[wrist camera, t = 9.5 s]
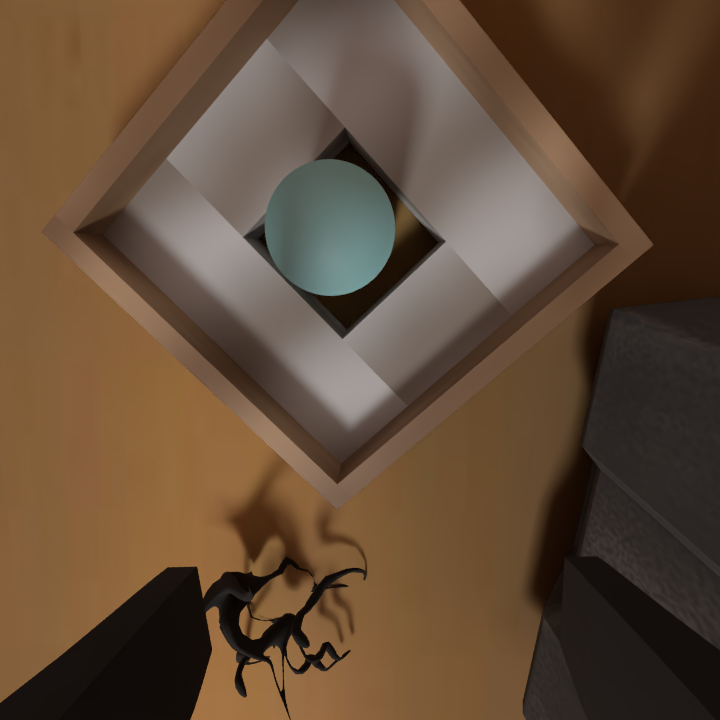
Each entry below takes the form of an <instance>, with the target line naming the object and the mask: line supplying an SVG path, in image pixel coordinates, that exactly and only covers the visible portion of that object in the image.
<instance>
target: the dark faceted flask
mask: <svg viewBox="0 0 720 720" xmlns="http://www.w3.org/2000/svg"><path fill="white" fill-rule="evenodd" d="M580 444H581V445H582V447H583V448H584V449H585V450H586V452H587V453H588V454H589V455H590V457H591V458H592V459H593V465H592V469H591V473H590V477H589V482H588V486H587V490H586V495H585V499H584V503H583V507H582V512H581V516H580V520H579V525H578V529H577V533H576V538H575V542H574V546H573V548H572V550H571V552H570V554H569V556H568V557H585V556H598V557H599V558H601V559H602V560H603V561H605V562H606V563H608V564H609V565H610V566H611V567H613V568H614V569H615V570H617V571H618V572H619V573H620V574H622V575H623V576H624V577H626V578H627V579H628V580H629V581H631V582H632V583H633V584H635V585H636V586H637V587H638V588H640V589H641V590H642V591H643V592H645V593H646V594H647V595H649V596H650V597H651V598H652V599H654V600H655V601H656V602H657V603H659V604H660V605H661V606H663V607H664V608H665V609H666V610H668V611H669V612H670V613H672V614H673V615H674V616H675V617H677V618H678V619H679V620H681V621H682V622H683V623H685V624H686V625H687V626H688V627H690V628H691V629H692V630H694V631H695V632H696V633H698V634H699V635H700V636H702V637H703V638H704V639H706V640H707V641H708V642H710V643H711V644H712V645H714V646H715V647H716V648H718V649H719V650H720V297H711V298H702V299H693V300H684V301H675V302H666V303H657V304H648V305H639V306H630V307H621V308H613V309H611V310H610V311H609V316H608V320H607V325H606V329H605V334H604V338H603V343H602V347H601V352H600V356H599V361H598V365H597V370H596V374H595V379H594V383H593V388H592V392H591V397H590V401H589V406H588V410H587V415H586V419H585V424H584V428H583V433H582V437H581V442H580ZM563 578H564V567H563V569H562V571H561V573H560V575H559V577H558V579H557V581H556V583H555V585H554V587H553V590H552V592H551V594H550V596H549V598H548V600H547V602H546V604H545V606H544V608H543V613H542V617H541V622H540V626H539V631H538V635H537V640H536V644H535V649H534V653H533V658H532V662H531V667H530V671H529V675H528V680H527V684H526V689H525V693H524V698H523V714H524V716H525V719H526V720H588V719H587V717H586V714H585V712H584V710H583V708H582V706H581V703H580V700H579V697H578V695H577V692H576V689H575V686H574V684H573V681H572V678H571V675H570V672H569V670H568V667H567V664H566V661H565V658H564V655H563V652H562V649H561V646H560V633H561V615H562V596H563Z"/></svg>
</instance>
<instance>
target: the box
mask: <svg viewBox="0 0 720 720" xmlns="http://www.w3.org/2000/svg"><path fill="white" fill-rule="evenodd" d="M348 143H350V144H351V145H352V146H353V147H354V148H355V149H356V151H357V152H358V153H359V154H360V155H361V156H362V157H363V158H364V160H365V161H366V162H367V163H368V164H369V165H370V166H371V167H372V169H373V170H374V171H375V172H376V173H377V174H378V175H379V176H380V177H381V179H382V180H383V181H384V182H385V183H386V184H387V185H388V186H389V188H390V189H391V190H392V191H393V192H394V193H395V194H396V195H397V197H398V198H399V199H400V200H401V201H402V202H403V203H404V204H405V206H406V207H407V208H408V209H409V210H410V211H411V212H412V213H413V215H414V216H415V217H416V218H417V219H418V220H419V221H420V222H421V224H422V225H423V226H424V227H425V228H426V229H427V230H428V231H429V233H430V234H431V235H432V236H433V237H434V238H435V239H436V240H437V242H438V243H437V244H436V245H435V246H434V247H433V248H432V249H431V250H430V251H429V252H428V253H427V254H426V255H425V256H424V257H423V258H421V259H420V260H419V261H418V262H417V263H416V264H415V265H414V266H413V267H412V268H411V269H410V270H409V271H408V272H407V273H406V274H405V275H404V276H402V277H401V278H400V279H399V280H398V281H397V282H396V283H395V284H394V285H393V286H392V287H391V288H390V289H389V290H388V291H387V292H386V293H385V294H383V295H382V296H381V297H380V298H379V299H378V300H377V301H376V302H375V303H374V304H373V305H372V306H371V307H370V308H369V309H368V310H367V311H365V312H364V313H363V314H362V315H361V316H360V317H359V318H358V319H357V320H356V321H355V322H354V323H353V324H352V325H351V326H350V327H349V328H348V329H346V328H345V327H344V326H343V325H342V324H341V323H340V322H339V321H338V320H337V319H336V318H335V317H334V316H333V315H332V314H331V313H330V312H329V311H328V310H327V309H326V308H325V307H324V305H323V304H322V303H321V302H320V301H319V300H318V299H317V298H316V297H315V296H314V295H313V294H312V293H311V292H308V291H306V290H304V289H302V288H300V287H298V286H296V285H295V284H294V283H292V282H291V281H290V280H289V279H287V278H286V277H285V276H284V275H283V273H282V272H281V271H280V270H279V269H278V267H277V266H276V264H275V263H274V261H273V259H272V257H271V255H270V252H269V249H268V248H267V247H266V246H265V245H264V244H263V243H262V241H261V240H260V239H259V238H260V237H261V236H262V235H263V234H264V233H265V217H266V211H267V207H268V204H269V201H270V199H271V196H272V194H273V193H274V191H275V189H276V187H277V186H278V185H279V184H280V182H281V181H282V180H283V179H284V178H285V177H286V176H287V175H288V174H289V173H291V172H292V171H293V170H295V169H296V168H298V167H300V166H302V165H304V164H306V163H309V162H312V161H317V160H324V159H334V158H335V157H336V156H337V155H338V154H339V153H340V152H341V151H342V150H343V149H344V148H345V146H346V145H347V144H348ZM42 233H43V234H44V235H45V236H46V237H48V238H49V239H50V240H51V241H52V242H53V243H54V244H55V245H56V246H57V247H58V248H59V249H60V250H61V251H62V252H63V253H65V254H66V255H67V256H68V257H69V258H70V259H71V260H72V261H73V262H74V263H75V264H76V265H77V266H78V267H79V268H80V269H82V270H83V271H84V272H85V273H86V274H87V275H88V276H89V277H90V278H91V279H92V280H93V281H94V282H95V283H96V284H97V285H99V286H100V287H101V288H102V289H103V290H104V291H105V292H106V293H107V294H108V295H109V296H110V297H111V298H112V299H113V300H115V301H116V302H117V303H118V304H119V305H120V306H121V307H122V308H123V309H124V310H125V311H126V312H127V313H128V314H129V315H130V316H132V317H133V318H134V319H135V320H136V321H137V322H138V323H139V324H140V325H141V326H142V327H143V328H144V329H145V330H146V331H147V332H149V333H150V334H151V335H152V336H153V337H154V338H155V339H156V340H157V341H158V342H159V343H160V344H161V345H162V346H163V347H165V348H166V349H167V350H168V351H169V352H170V353H171V354H172V355H173V356H174V357H175V358H176V359H177V360H178V361H179V362H180V363H182V364H183V365H184V366H185V367H186V368H187V369H188V370H189V371H190V372H191V373H192V374H193V375H194V376H195V377H196V378H197V379H199V380H200V381H201V382H202V383H203V384H204V385H205V386H206V387H207V388H208V389H209V390H210V391H211V392H212V393H213V394H215V395H216V396H217V397H218V398H219V399H220V400H221V401H222V402H223V403H224V404H225V405H226V406H227V407H228V408H229V409H230V410H232V411H233V412H234V413H235V414H236V415H237V416H238V417H239V418H240V419H241V420H242V421H243V422H244V423H245V424H246V425H247V426H249V427H250V428H251V429H252V430H253V431H254V432H255V433H256V434H257V435H258V436H259V437H260V438H261V439H262V440H263V441H264V442H266V443H267V444H268V445H269V446H270V447H271V448H272V449H273V450H274V451H275V452H276V453H277V454H278V455H279V456H280V457H282V458H283V459H284V460H285V461H286V462H287V463H288V464H289V465H290V466H291V467H292V468H293V469H294V470H295V471H296V472H297V473H299V474H300V475H301V476H302V477H303V478H304V479H305V480H306V481H307V482H308V483H309V484H310V485H311V486H312V487H313V488H314V489H316V490H317V491H318V492H319V493H320V494H321V495H322V496H323V497H324V498H325V499H326V500H327V501H328V502H329V503H330V504H332V505H333V506H334V507H335V508H336V509H339V508H340V507H341V506H342V505H343V504H345V503H346V502H347V501H348V500H349V499H351V498H352V497H353V496H354V495H355V494H357V493H358V492H359V491H360V490H361V489H362V488H364V487H365V486H366V485H367V484H368V483H370V482H371V481H372V480H373V479H374V478H376V477H377V476H378V475H379V474H380V473H382V472H383V471H384V470H385V469H386V468H388V467H389V466H390V465H391V464H392V463H394V462H395V461H396V460H397V459H398V458H400V457H401V456H402V455H403V454H404V453H406V452H407V451H408V450H409V449H410V448H411V447H413V446H414V445H415V444H416V443H417V442H419V441H420V440H421V439H422V438H423V437H425V436H426V435H427V434H428V433H429V432H431V431H432V430H433V429H434V428H435V427H437V426H438V425H439V424H440V423H441V422H443V421H444V420H445V419H446V418H447V417H449V416H450V415H451V414H452V413H453V412H455V411H456V410H457V409H458V408H459V407H460V406H462V405H463V404H464V403H465V402H466V401H468V400H469V399H470V398H471V397H472V396H474V395H475V394H476V393H477V392H478V391H480V390H481V389H482V388H483V387H484V386H486V385H487V384H488V383H489V382H490V381H492V380H493V379H494V378H495V377H496V376H498V375H499V374H500V373H501V372H502V371H503V370H505V369H506V368H507V367H508V366H509V365H511V364H512V363H513V362H514V361H515V360H517V359H518V358H519V357H520V356H521V355H523V354H524V353H525V352H526V351H527V350H529V349H530V348H531V347H532V346H533V345H535V344H536V343H537V342H538V341H539V340H541V339H542V338H543V337H544V336H545V335H547V334H548V333H549V332H550V331H551V330H552V329H554V328H555V327H556V326H557V325H558V324H560V323H561V322H562V321H563V320H564V319H566V318H567V317H568V316H569V315H570V314H572V313H573V312H574V311H575V310H576V309H578V308H579V307H580V306H581V305H582V304H584V303H585V302H586V301H587V300H588V299H590V298H591V297H592V296H593V295H594V294H596V293H597V292H598V291H599V290H600V289H601V288H603V287H604V286H605V285H606V284H607V283H609V282H610V281H611V280H612V279H613V278H615V277H616V276H617V275H618V274H619V273H621V272H622V271H623V270H624V269H625V268H627V267H628V266H629V265H630V264H631V263H633V262H634V261H635V260H636V259H637V258H639V257H640V256H641V255H642V254H643V253H644V252H646V251H647V250H648V249H649V248H650V247H652V246H653V243H652V242H651V241H650V240H649V238H648V237H647V236H646V235H645V233H644V232H643V231H642V230H641V228H640V227H639V226H638V225H637V223H636V222H635V221H634V219H633V218H632V217H631V216H630V214H629V213H628V212H627V211H626V209H625V208H624V207H623V206H622V204H621V203H620V202H619V201H618V199H617V198H616V197H615V196H614V194H613V193H612V192H611V190H610V189H609V188H608V187H607V185H606V184H605V183H604V182H603V180H602V179H601V178H600V177H599V175H598V174H597V173H596V172H595V170H594V169H593V168H592V167H591V165H590V164H589V163H588V161H587V160H586V159H585V158H584V156H583V155H582V154H581V153H580V151H579V150H578V149H577V148H576V146H575V145H574V144H573V143H572V141H571V140H570V139H569V138H568V136H567V135H566V134H565V132H564V131H563V130H562V129H561V127H560V126H559V125H558V124H557V122H556V121H555V120H554V119H553V117H552V116H551V115H550V114H549V112H548V111H547V110H546V109H545V107H544V106H543V105H542V103H541V102H540V101H539V100H538V98H537V97H536V96H535V95H534V93H533V92H532V91H531V90H530V88H529V87H528V86H527V85H526V83H525V82H524V81H523V80H522V78H521V77H520V76H519V74H518V73H517V72H516V71H515V69H514V68H513V67H512V66H511V64H510V63H509V62H508V61H507V59H506V58H505V57H504V56H503V54H502V53H501V52H500V51H499V49H498V48H497V47H496V45H495V44H494V43H493V42H492V40H491V39H490V38H489V37H488V35H487V34H486V33H485V32H484V30H483V29H482V28H481V27H480V25H479V24H478V23H477V22H476V20H475V19H474V18H473V16H472V15H471V14H470V13H469V11H468V10H467V9H466V8H465V6H464V5H463V4H462V3H461V1H460V0H226V2H225V3H224V4H223V5H222V7H221V8H220V9H219V10H218V12H217V13H216V14H215V15H214V17H213V18H212V19H211V20H210V22H209V23H208V24H207V25H206V27H205V28H204V29H203V30H202V32H201V33H200V34H199V35H198V37H197V38H196V39H195V40H194V42H193V43H192V44H191V45H190V47H189V48H188V49H187V50H186V52H185V53H184V54H183V55H182V57H181V58H180V59H179V60H178V62H177V63H176V64H175V65H174V67H173V68H172V69H171V70H170V72H169V73H168V74H167V75H166V77H165V78H164V79H163V80H162V82H161V83H160V84H159V85H158V87H157V88H156V89H155V90H154V92H153V93H152V94H151V95H150V97H149V98H148V99H147V100H146V102H145V103H144V104H143V105H142V107H141V108H140V109H139V110H138V112H137V113H136V114H135V115H134V117H133V118H132V119H131V120H130V122H129V123H128V124H127V125H126V127H125V128H124V129H123V130H122V132H121V133H120V134H119V135H118V137H117V138H116V139H115V140H114V142H113V143H112V144H111V145H110V147H109V148H108V149H107V150H106V152H105V153H104V154H103V155H102V157H101V158H100V159H99V160H98V162H97V163H96V164H95V165H94V167H93V168H92V169H91V170H90V172H89V173H88V174H87V175H86V177H85V178H84V179H83V181H82V182H81V183H80V184H79V186H78V187H77V188H76V189H75V191H74V192H73V193H72V194H71V196H70V197H69V198H68V199H67V201H66V202H65V203H64V204H63V206H62V207H61V208H60V209H59V211H58V212H57V213H56V214H55V216H54V217H53V218H52V219H51V221H50V222H49V223H48V224H47V226H46V227H45V228H44V229H43V231H42Z"/></svg>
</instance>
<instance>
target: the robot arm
mask: <svg viewBox="0 0 720 720" xmlns="http://www.w3.org/2000/svg"><path fill="white" fill-rule="evenodd" d="M560 646H561V649H562V652H563V655H564V658H565V661H566V664H567V667H568V670H569V672H570V675H571V678H572V681H573V684H574V686H575V689H576V692H577V695H578V697H579V700H580V703H581V706H582V708H583V710H584V712H585V714H586V717H587V719H588V720H720V650H719V649H718V648H716V647H715V646H714V645H712V644H711V643H710V642H708V641H707V640H706V639H704V638H703V637H702V636H700V635H699V634H698V633H696V632H695V631H694V630H692V629H691V628H690V627H688V626H687V625H686V624H685V623H683V622H682V621H681V620H679V619H678V618H677V617H675V616H674V615H673V614H672V613H670V612H669V611H668V610H666V609H665V608H664V607H663V606H661V605H660V604H659V603H657V602H656V601H655V600H654V599H652V598H651V597H650V596H649V595H647V594H646V593H645V592H643V591H642V590H641V589H640V588H638V587H637V586H636V585H635V584H633V583H632V582H631V581H629V580H628V579H627V578H626V577H624V576H623V575H622V574H620V573H619V572H618V571H617V570H615V569H614V568H613V567H611V566H610V565H609V564H608V563H606V562H605V561H603V560H602V559H601V558H599V557H598V556H585V557H565V560H564V578H563V596H562V615H561V633H560ZM211 652H212V646H211V641H210V635H209V630H208V624H207V619H206V613H205V608H204V602H203V597H202V591H201V586H200V580H199V574H198V569H197V567H168V568H166V569H165V570H164V571H163V572H161V573H160V574H159V575H157V576H156V577H155V578H154V579H152V580H151V581H150V582H149V583H147V584H146V585H145V586H144V587H143V588H141V589H140V590H139V591H138V592H137V593H135V594H134V595H133V596H132V597H131V598H130V599H128V600H127V601H126V602H125V603H124V604H122V605H121V606H120V607H119V608H118V609H116V610H115V611H114V612H113V613H112V614H111V615H109V616H108V617H107V618H106V619H105V620H103V621H102V622H101V623H100V624H99V625H97V626H96V627H95V628H94V629H92V630H91V631H90V632H89V633H88V634H86V635H85V636H84V637H83V638H82V639H80V640H79V641H78V642H77V643H76V644H74V645H73V646H72V647H71V648H70V649H68V650H67V651H66V652H65V653H64V654H62V655H61V656H60V657H59V658H57V659H56V660H55V661H53V662H52V663H51V664H50V665H48V666H47V667H46V668H44V669H43V670H42V671H41V672H39V673H38V674H37V675H36V676H34V677H33V678H32V679H30V680H29V681H28V682H27V683H25V684H24V685H23V686H21V687H20V688H19V689H18V690H16V691H15V692H14V693H12V694H11V695H10V696H9V697H7V698H6V699H5V700H3V701H2V702H1V703H0V720H190V719H191V716H192V714H193V711H194V709H195V706H196V702H197V699H198V696H199V693H200V690H201V686H202V683H203V680H204V676H205V673H206V669H207V666H208V662H209V659H210V655H211Z"/></svg>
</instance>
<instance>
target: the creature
mask: <svg viewBox="0 0 720 720" xmlns="http://www.w3.org/2000/svg"><path fill="white" fill-rule="evenodd" d="M290 564H291V565H292V566H293V567H295V568H296V569H297V570H302V571H307V572H309V571H308V570H306V569H301V568H299V566H298V565H297V564H296V563H295V562H294V561H293V560H291V559H289V558H288V557H286V558H285V559H284V560H283V561H282V563H281V564H280V566H279V568H278V570H276V571H275V572H273V573H272V574H270V575H267V576H264V577H258V576H254V575H253V574H252V572H250V573H248V574H245V573H241V572H225V573H224V574H223V575H222V576H221V578H220V579H219V580H218V581H216V582H215V583H213V584H212V586H211V587H210V588H209V589H208V591H207V592H206V594H205V596H204V598H203V602H204V608H205V613H206V612H207V611H208V610H209V609H210V608H212V607H213V606H216V607H217V608H219V616H220V617H219V623H220V629H221V631H222V633H223V635H224V637H225V638H226V640H227V642H228V643H229V645H230V646H231V647H232V648H233V649H234V650H235V651H237V654H236V661H237V662H238V663H239V665H238V668H237V671H236V675H235V686H236V689H237V691H238V692H239V694H240V695H241V696H243V697H247V694H246V688H245V685H244V682H243V678H242V671H243V668H244V665H250V664H255V663H258V662H261V661H264V662H267V663H268V664H270V666H271V669H272V672H273V675H274V678H275V682H276V685H277V688H278V690H279V693H280V696H281V698H282V701H283V703H284V706H285V708H286V711H287V713H288V716H289V712H288V708H287V704H286V698H285V690H284V656H285V657H286V660H287V663H288V665H289V667H290V668H291V669H292V671H293V672H294V673H295V674H303V673H304V672H306V671H307V670H308V668H309V667H310V665H311V663H312V665H313V666H315V667H316V668H318V669H320V670H321V671H327V670H329V669H330V668H331V667H332V666H333V665H334V664H335V663H337V662H338V661H340V660H342V659H343V658H344V657H345V656H346V655H347V654H348V653H349V652H350V651H351V650H349V651H347V652H346V653H344V654H343V655H342V657H339V656H338V655H337V653H336V651H335V649H334V648H333V646H332V645H331V643H329V642H325V643H323V644H322V646H321V648H320V651H319V652H318V653H317V654H316V655H312V654H309V655H306V654H305V652H304V650H303V648H308V647H309V646H310V644H309V640H308V638H307V637H306V635H305V634H304V633H303V632H302V630H301V625H302V621H303V618H304V615H305V614H307V613H308V612H309V611H310V610H311V609H312V607H313V606H314V605H315V604H316V603H317V602H318V600H319V599H320V597H321V595H322V594H323V592H324V590H325V589H329V588H340V587H348V586H347V585H337V586H330V587H328V586H329V585H330V584H331V583H333V582H334V581H335V580H337V579H338V578H340V577H342V576H344V575H346V574H348V573H351V572H357V573H363V574H364V576H365V577H364V579H363V580H365V579H366V576H367V575H366V572H365V571H364V570H363V569H360V568H350V569H345V570H342V571H339V572H336V573H334V574H331V575H328V576H325V578H324V579H323V580H322V581H321V582H320V583H319V585H318V586H316V584H315V582H314V586H313V589H312V591H311V592H313V593H312V594H311V596H310V597H309V599H308V601H307V602H306V604H305V606H304V607H303V608H302V609H301V610H300V611H299V612H298V613H297V614H296V616H295V615H294V614H291V613H286V614H284V615H283V616H282V617H280V618H278V619H276V620H261V621H271V622H272V623H273V624H272V625H271V626H270V627H269V628H268V629H267V630H266V631H265V632H264V633H263V635H262V637H261V638H260V639H255V640H252V639H250V638H248V637H247V636H245V635H244V634H242V631H241V629H240V626H239V616H240V612H241V611H242V610H243V608H244V607H245V606H246V605H247V608H248V610H249V613H250V617H251V618H254V617H252V615H251V610H250V606H249V601H251V600H252V599H253V597H254V595H255V594H256V593H257V592H258V591H259V590H260V589H261V588H262V586H264V585H265V584H266V583H267V582H268V581H269V580H271V579H272V578H274V577H276V576H278V575H280V574H282V573H283V572H284V570H285V568H286V567H287V565H290ZM309 573H310V572H309ZM310 574H311V573H310ZM311 576H312V577H313V575H312V574H311ZM254 619H257V618H254ZM257 620H260V619H257ZM291 634H292V636H293V638H294V640H295V641H296V643H297V644H298V645H299V647H300V650H301V652H302V654H303V655H304V657H305V659H306V660H305V663H304V664H303V665H302V666H301V667H300V668H299V670H297V669H295V668H293V667H292V666H291V664H290V662H289V661H288V659H287V650H286V647H287V643H288V640H289V638H290V636H291ZM275 645H277V646H278V647H279V648H280V650H281V653H282V666H283V689H282V691H280V689H279V686H278V683H277V681H276V677H275V673H274V668H273V664H272V662H271V660H270V659H269V657H270V656H269V657H265V656H264V654H263V653H264V652H265V651H266V649H268V648H269V647H270V646H273V648H275ZM302 647H303V648H302ZM326 651H327V652H328V654H329V655H330V656H331V657H332V659H334V660H335V661H334V662H333V663H332V664H331V665H330V666H329V667H328V668H325V666H324V665H323V664H322V662H321V661H320V660H321V659H322V658H323V656H324V654H325V652H326ZM250 657H251V658H253V659H256V660H260V661H256V662H252V663H250V662H248V661H249V660H250ZM289 719H290V716H289ZM290 720H291V719H290Z"/></svg>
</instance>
